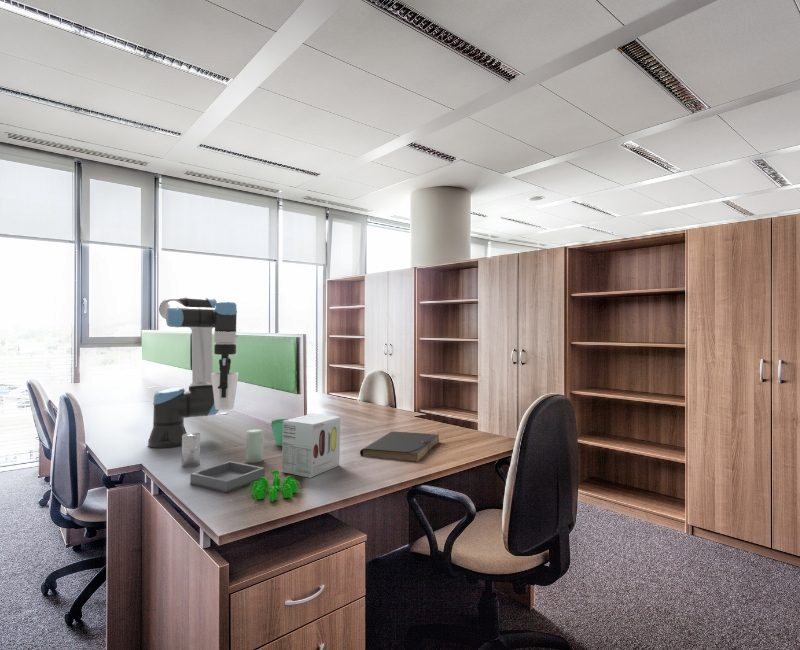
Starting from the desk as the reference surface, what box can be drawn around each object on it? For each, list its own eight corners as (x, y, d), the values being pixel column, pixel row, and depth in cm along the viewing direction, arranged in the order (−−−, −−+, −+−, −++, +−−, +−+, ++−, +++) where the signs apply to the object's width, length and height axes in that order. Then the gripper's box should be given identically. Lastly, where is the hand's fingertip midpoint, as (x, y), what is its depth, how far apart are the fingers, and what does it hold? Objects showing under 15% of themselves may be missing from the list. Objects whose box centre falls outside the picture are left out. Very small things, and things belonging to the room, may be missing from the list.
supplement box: (311, 478, 152) (312, 424, 153) (280, 472, 158) (281, 420, 159) (341, 465, 168) (341, 416, 168) (311, 460, 174) (312, 412, 174)
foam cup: (242, 408, 169) (243, 373, 170) (218, 411, 163) (219, 375, 163) (229, 405, 176) (230, 371, 176) (206, 408, 169) (206, 373, 169)
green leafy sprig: (301, 485, 147) (301, 463, 147) (299, 502, 132) (299, 478, 132) (252, 487, 144) (252, 465, 144) (244, 505, 129) (245, 481, 129)
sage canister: (242, 461, 171) (242, 431, 172) (254, 457, 177) (254, 428, 177) (254, 463, 169) (254, 433, 169) (266, 459, 174) (266, 430, 174)
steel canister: (177, 465, 165) (178, 435, 165) (192, 461, 170) (192, 432, 170) (189, 468, 162) (189, 437, 162) (203, 464, 167) (203, 433, 167)
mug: (266, 446, 193) (267, 422, 193) (276, 441, 202) (276, 418, 203) (300, 448, 190) (300, 424, 191) (308, 442, 200) (308, 419, 200)
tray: (190, 484, 145) (190, 473, 145) (230, 471, 159) (230, 461, 160) (226, 493, 138) (226, 481, 138) (264, 478, 152) (264, 467, 152)
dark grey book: (418, 452, 173) (359, 447, 181) (418, 463, 173) (359, 458, 181) (439, 433, 204) (388, 430, 212) (439, 443, 204) (388, 439, 212)
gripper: (235, 344, 160) (234, 408, 160) (237, 342, 181) (236, 399, 181) (211, 344, 158) (210, 409, 157) (216, 342, 179) (215, 400, 178)
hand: (224, 404), depth 169 cm, fingers closed on foam cup, 9 cm apart
